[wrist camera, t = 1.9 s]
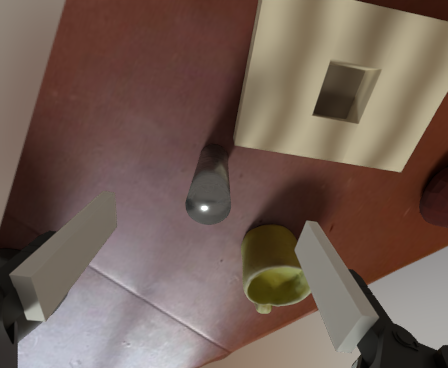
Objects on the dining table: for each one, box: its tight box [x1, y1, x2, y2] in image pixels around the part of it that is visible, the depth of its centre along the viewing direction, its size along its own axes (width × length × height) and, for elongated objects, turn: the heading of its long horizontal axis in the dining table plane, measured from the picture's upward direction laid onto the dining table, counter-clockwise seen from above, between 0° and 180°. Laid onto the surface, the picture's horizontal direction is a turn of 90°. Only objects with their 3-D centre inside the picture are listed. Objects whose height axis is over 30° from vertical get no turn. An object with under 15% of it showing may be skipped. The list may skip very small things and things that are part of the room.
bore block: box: [233, 0, 448, 172], centre depth 23 cm, size 20×14×4 cm
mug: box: [241, 224, 311, 314], centre depth 31 cm, size 12×10×10 cm
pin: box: [186, 144, 231, 225], centre depth 22 cm, size 4×4×12 cm
